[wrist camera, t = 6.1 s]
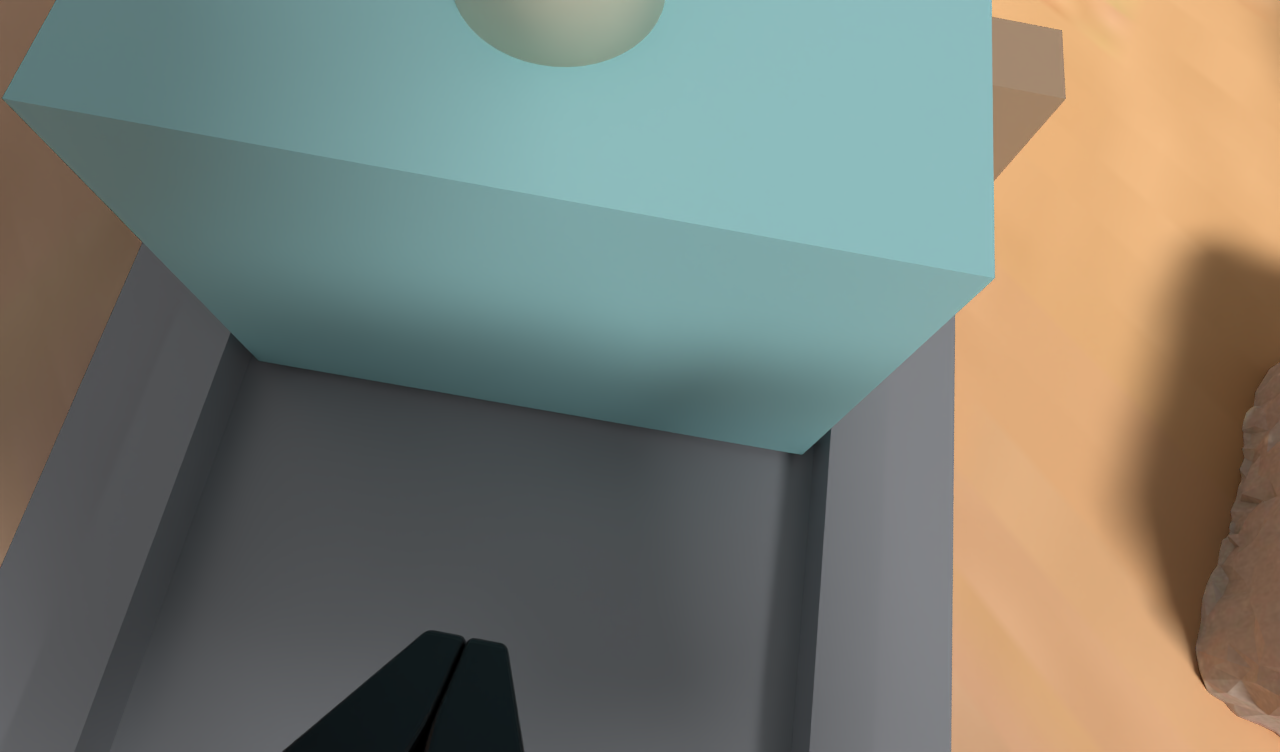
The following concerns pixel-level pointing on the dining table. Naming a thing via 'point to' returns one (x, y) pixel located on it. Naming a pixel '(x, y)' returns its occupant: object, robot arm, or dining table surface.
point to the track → (481, 546)
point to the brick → (1249, 577)
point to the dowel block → (549, 189)
